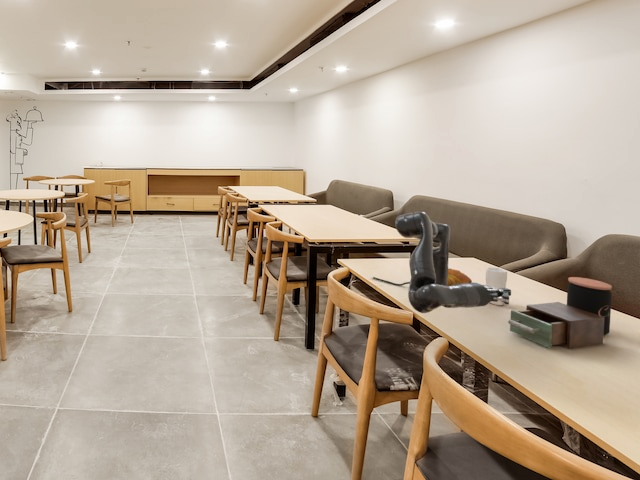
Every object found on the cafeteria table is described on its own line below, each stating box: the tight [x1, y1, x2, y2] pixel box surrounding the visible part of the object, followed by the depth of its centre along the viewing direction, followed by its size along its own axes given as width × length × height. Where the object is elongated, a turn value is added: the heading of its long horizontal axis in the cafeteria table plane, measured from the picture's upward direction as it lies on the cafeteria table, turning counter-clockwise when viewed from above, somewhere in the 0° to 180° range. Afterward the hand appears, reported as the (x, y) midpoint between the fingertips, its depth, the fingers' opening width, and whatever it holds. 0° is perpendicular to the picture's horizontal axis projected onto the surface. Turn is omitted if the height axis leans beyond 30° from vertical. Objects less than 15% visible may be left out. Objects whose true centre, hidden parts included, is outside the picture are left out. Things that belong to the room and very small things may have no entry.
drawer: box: [507, 309, 568, 348], centre depth 128 cm, size 19×11×8 cm, turn 101°
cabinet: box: [525, 301, 605, 350], centre depth 130 cm, size 16×13×10 cm
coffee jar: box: [566, 276, 613, 336], centre depth 136 cm, size 11×11×18 cm
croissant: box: [448, 267, 473, 285], centre depth 180 cm, size 14×16×8 cm
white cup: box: [485, 266, 508, 306], centre depth 158 cm, size 7×7×15 cm
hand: (508, 291), depth 124 cm, fingers closed
